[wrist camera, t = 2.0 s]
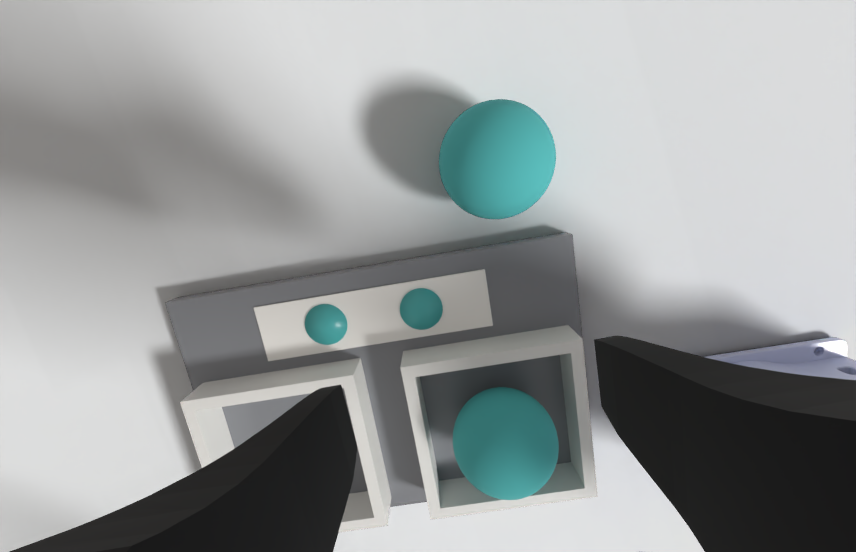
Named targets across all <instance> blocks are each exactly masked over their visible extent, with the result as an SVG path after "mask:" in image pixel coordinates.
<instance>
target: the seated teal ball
mask: <svg viewBox="0 0 856 552" xmlns="http://www.w3.org/2000/svg"><path fill="white" fill-rule="evenodd" d="M453 450H454V454H455V458H456V461H457V463H458V465H459V468H460V470H461V471H462V473H463V474H464V476H465V477H466V478H467V480H468V481H469V482H470V483H471V484H472V485H473V486H474V487H475V488H477V489H478V490H479V491H481V492H483V493H484V494H486V495H488V496H491V497H493V498H497V499H502V500H518V499H522V498H525V497H528V496H530V495H532V494H534V493H536V492H537V491H538V490H540V489H541V488H542V487H543V486H544V485H545V484H546V483H547V482H548V480H549V479H550V477H551V476H552V474H553V472H554V470H555V467H556V463H557V460H558V453H559V442H558V436H557V431H556V428H555V426H554V423H553V421H552V419H551V417H550V415H549V414H548V412H547V411H546V410H545V408H544V407H543V406H542V405H541V404H540V403H539V402H538V401H537V400H536V399H534V398H533V397H532V396H530V395H528V394H526V393H525V392H522V391H520V390H517V389H513V388H507V387H496V388H490V389H487V390H484V391H482V392H480V393H478V394H476V395H475V396H473V397H472V398H471V399H470V400H468V401H467V403H466V404H465V405H464V406H463V408H462V409H461V411H460V412H459V414H458V416H457V419H456V421H455V425H454V430H453Z"/></svg>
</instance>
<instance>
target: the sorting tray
mask: <svg viewBox="0 0 856 552" xmlns="http://www.w3.org/2000/svg"><path fill="white" fill-rule="evenodd" d="M165 304H166V307H167V310H168V313H169V316H170V320H171V323H172V326H173V329H174V332H175V335H176V338H177V341H178V344H179V347H180V350H181V354H182V357H183V360H184V363H185V366H186V369H187V372H188V375H189V378H190V381H191V385H192V388H193V391H192V392H191V393H190V394H189V395H188V396H186V397H185V398H184V399H183V400H182V401H181V402H180V404H181V407H182V410H183V413H184V416H185V419H186V422H187V425H188V428H189V431H190V434H191V437H192V440H193V443H194V446H195V449H196V452H197V455H198V458H199V461H200V464H201V467H202V468H203V467H205V466H207V465H208V464H210V463H212V462H213V461H215V460H217V459H219V458H220V457H222V456H223V455H225V454H227V453H228V452H230V451H231V450H233V449H234V448H236V447H238V446H239V445H241V444H242V443H243V442H245V441H246V440H248V439H249V438H251V437H252V436H253V435H255V434H256V433H258V432H259V431H260V430H262V429H263V428H265V427H266V426H268V425H269V424H270V423H272V422H273V421H274V420H276V419H277V418H278V417H280V416H281V415H282V414H284V413H285V412H286V411H288V410H289V409H290V408H292V407H293V406H294V405H296V404H297V403H298V402H300V401H301V400H303V399H304V398H305V397H307V396H308V395H310V394H311V393H313V392H314V391H316V390H318V389H320V388H324V387H330V386H335V385H341V386H342V390H343V394H344V398H345V401H346V405H347V409H348V413H349V417H350V421H351V424H352V428H353V432H354V436H355V440H356V443H357V455H356V463H355V470H354V477H353V482H352V486H351V490H350V493H349V497H348V500H347V504H346V508H345V511H344V514H343V518H342V521H341V525H340V528H339V532H346V531H353V530H360V529H368V528H375V527H382V526H388V519H389V512H390V507H393V506H400V505H407V504H414V503H421V502H427V504H428V509H429V513H430V518H431V520H433V519H440V518H447V517H454V516H462V515H469V514H476V513H483V512H491V511H498V510H505V509H512V508H519V507H527V506H534V505H541V504H548V503H556V502H563V501H570V500H577V499H585V498H592V497H598V496H597V485H596V474H595V464H594V453H593V443H592V432H591V421H590V411H589V400H588V390H587V379H586V368H585V358H584V347H583V339H582V330H581V320H580V309H579V299H578V288H577V278H576V267H575V256H574V246H573V235H572V234H569V233H566V232H565V233H559V234H553V235H547V236H541V237H535V238H529V239H523V240H517V241H511V242H505V243H499V244H494V245H488V246H482V247H476V248H470V249H464V250H458V251H452V252H446V253H440V254H434V255H428V256H422V257H416V258H410V259H404V260H398V261H392V262H386V263H381V264H375V265H369V266H363V267H357V268H351V269H345V270H339V271H333V272H327V273H321V274H315V275H309V276H303V277H297V278H291V279H285V280H279V281H274V282H268V283H262V284H256V285H250V286H244V287H238V288H232V289H226V290H220V291H214V292H208V293H202V294H196V295H190V296H184V297H178V298H175V299H173V300H171V301H168V302H166V303H165ZM496 387H507V388H513V389H517V390H520V391H522V392H525V393H526V394H528V395H530V396H532V397H533V398H534V399H536V400H537V401H538V402H539V403H540V404H541V405H542V406H543V407H544V408H545V410H546V411H547V412H548V414H549V415H550V417H551V419H552V421H553V423H554V426H555V428H556V431H557V436H558V442H559V453H558V460H557V463H556V467H555V470H554V472H553V474H552V476H551V477H550V479H549V480H548V482H547V483H546V484H545V485H544V486H543V487H542V488H541V489H540V490H538V491H537V492H536V493H534V494H532V495H530V496H528V497H525V498H522V499H518V500H502V499H497V498H493V497H491V496H488V495H486V494H484V493H483V492H481V491H479V490H478V489H477V488H475V487H474V486H473V485H472V484H471V483H470V482H469V481H468V480H467V478H466V477H465V476H464V474H463V473H462V471H461V470H460V468H459V465H458V463H457V461H456V458H455V454H454V450H453V430H454V425H455V421H456V419H457V416H458V414H459V412H460V411H461V409H462V408H463V406H464V405H465V404H466V403H467V401H468V400H470V399H471V398H472V397H473V396H475V395H476V394H478V393H480V392H482V391H484V390H487V389H490V388H496ZM339 532H338V533H339Z"/></svg>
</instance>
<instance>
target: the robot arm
mask: <svg viewBox="0 0 856 552" xmlns="http://www.w3.org/2000/svg"><path fill="white" fill-rule="evenodd" d="M594 342H595V351H596V360H597V369H598V378H599V387H600V396H601V405H602V408H603V409H604V411H605V413H606V415H607V416H608V418H609V420H610V422H611V424H612V425H613V427H614V429H615V430H616V432H617V433H618V435H619V437H620V438H621V439H622V441H623V442H624V443H625V445H626V446H627V447H628V449H629V450H630V451H631V452H632V454H633V455H634V456H635V458H636V459H637V460H638V461H639V463H640V464H641V465H642V466H643V468H644V469H645V470H646V472H647V473H648V474H649V475H650V477H651V478H652V479H653V480H654V482H655V483H656V484H657V485H658V487H659V488H660V489H661V490H662V492H663V493H664V494H665V496H666V497H667V498H668V499H669V501H670V502H671V503H672V504H673V506H674V507H675V508H676V510H677V511H678V512H679V514H680V515H681V516H682V518H683V519H684V521H685V522H686V523H687V525H688V526H689V528H690V529H691V531H692V532H693V534H694V535H695V537H696V538H697V540H698V541H699V543H700V545H701V546H702V548H703V549H704V551H705V552H856V361H855V360H853V359H850V358H848V357H847V343H846V342H845V341H844V340H842V339H839V338H837V337H830V338H824V339H817V340H811V341H804V342H798V343H791V344H784V345H778V346H771V347H765V348H758V349H752V350H745V351H738V352H732V353H725V354H719V355H712V356H705V357H701V356H697V355H693V354H689V353H685V352H682V351H678V350H674V349H670V348H667V347H663V346H659V345H656V344H652V343H648V342H645V341H641V340H637V339H633V338H628V337H623V336H612V337H606V338H601V339H595V340H594ZM816 348H817V350H816V351H815V349H816ZM814 351H815V352H814ZM356 455H357V443H356V440H355V436H354V432H353V428H352V424H351V421H350V417H349V413H348V409H347V405H346V401H345V398H344V394H343V390H342V386H341V385H335V386H330V387H324V388H320V389H318V390H316V391H314V392H313V393H311V394H310V395H308V396H307V397H305V398H304V399H303V400H301V401H300V402H298V403H297V404H296V405H294V406H293V407H292V408H290V409H289V410H288V411H286V412H285V413H284V414H282V415H281V416H280V417H278V418H277V419H276V420H274V421H273V422H272V423H270V424H269V425H268V426H266V427H265V428H263V429H262V430H260V431H259V432H258V433H256V434H255V435H253V436H252V437H251V438H249V439H248V440H246V441H245V442H243V443H242V444H241V445H239V446H238V447H236V448H234V449H233V450H231V451H230V452H228V453H227V454H225V455H223V456H222V457H220V458H219V459H217V460H215V461H213V462H212V463H210V464H208V465H207V466H205V467H203V468H202V469H200V470H198V471H196V472H195V473H193V474H191V475H189V476H187V477H185V478H183V479H181V480H179V481H177V482H175V483H173V484H171V485H169V486H167V487H165V488H163V489H162V490H160V491H158V492H156V493H154V494H152V495H150V496H148V497H146V498H143V499H141V500H139V501H137V502H135V503H132V504H130V505H128V506H126V507H124V508H121V509H119V510H117V511H114V512H112V513H110V514H107V515H105V516H103V517H100V518H98V519H95V520H93V521H91V522H88V523H86V524H83V525H81V526H78V527H76V528H73V529H70V530H68V531H65V532H62V533H60V534H57V535H54V536H51V537H49V538H46V539H43V540H40V541H38V542H35V543H32V544H29V545H27V546H24V547H21V548H19V549H16V550H13V551H10V552H333V549H334V546H335V542H336V539H337V535H338V532H339V528H340V525H341V521H342V518H343V514H344V511H345V508H346V504H347V500H348V497H349V493H350V490H351V486H352V482H353V477H354V470H355V463H356Z"/></svg>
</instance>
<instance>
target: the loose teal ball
mask: <svg viewBox="0 0 856 552" xmlns="http://www.w3.org/2000/svg"><path fill="white" fill-rule="evenodd" d="M555 161H556V151H555V144H554V140H553V137H552V134H551V132H550V130H549V128H548V126H547V125H546V123H545V122H544V120H543V119H542V118H541V117H540V116H539V115H538V114H537V113H536V112H535V111H534V110H532V109H531V108H529V107H528V106H526V105H524V104H522V103H519V102H516V101H512V100H503V99H497V100H489V101H485V102H481V103H479V104H476V105H474V106H472V107H471V108H469V109H467V110H466V111H465V112H463V113H462V114H461V115H460V116H459V117H458V118H457V119H456V120H455V121H454V122H453V123H452V125H451V126H450V127H449V129H448V131H447V133H446V134H445V137H444V139H443V142H442V145H441V148H440V155H439V169H440V175H441V179H442V182H443V185H444V187H445V189H446V191H447V193H448V194H449V196H450V197H451V199H452V200H453V201H454V202H455V203H456V204H457V205H458V206H459V207H461V208H462V209H463V210H465V211H466V212H468V213H470V214H472V215H475V216H478V217H481V218H487V219H503V218H508V217H512V216H515V215H517V214H520V213H521V212H523V211H525V210H527V209H528V208H529V207H531V206H532V205H533V204H534V203H535V202H537V201H538V200H539V198H540V197H541V196H542V195H543V194H544V192H545V191H546V189H547V188H548V186H549V184H550V181H551V179H552V176H553V173H554V168H555Z"/></svg>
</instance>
